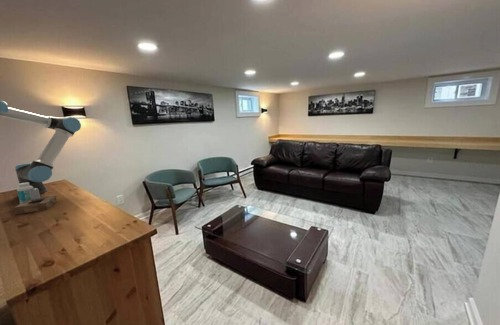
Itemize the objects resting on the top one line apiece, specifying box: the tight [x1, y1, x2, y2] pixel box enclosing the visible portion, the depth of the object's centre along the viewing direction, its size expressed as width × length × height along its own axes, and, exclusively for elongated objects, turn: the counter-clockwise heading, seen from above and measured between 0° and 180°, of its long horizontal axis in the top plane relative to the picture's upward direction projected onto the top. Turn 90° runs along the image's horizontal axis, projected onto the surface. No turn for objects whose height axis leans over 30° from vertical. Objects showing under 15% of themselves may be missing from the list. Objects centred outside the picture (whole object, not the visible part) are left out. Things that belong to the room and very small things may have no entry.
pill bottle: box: [16, 182, 33, 204], centre depth 135 cm, size 8×7×14 cm
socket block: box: [13, 195, 58, 215], centre depth 128 cm, size 14×14×4 cm
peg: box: [29, 188, 42, 203], centre depth 127 cm, size 4×4×12 cm
